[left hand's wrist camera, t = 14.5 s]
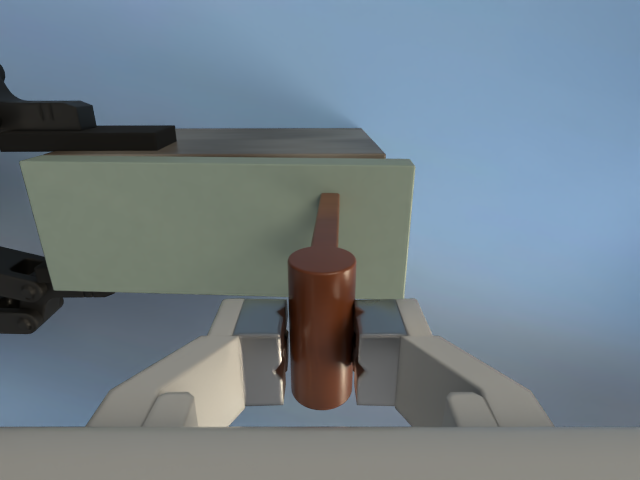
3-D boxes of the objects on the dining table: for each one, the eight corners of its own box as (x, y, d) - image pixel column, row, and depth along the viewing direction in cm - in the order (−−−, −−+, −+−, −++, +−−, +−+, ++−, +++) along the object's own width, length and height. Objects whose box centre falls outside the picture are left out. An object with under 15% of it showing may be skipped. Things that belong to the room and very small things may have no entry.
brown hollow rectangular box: (361, 127, 25) (386, 153, 17) (358, 214, 27) (378, 274, 19) (129, 128, 25) (41, 154, 17) (143, 215, 27) (71, 276, 19)
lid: (410, 158, 16) (472, 236, 8) (399, 285, 18) (441, 443, 10) (41, 154, 16) (-219, 223, 9) (71, 277, 19) (-120, 418, 11)
